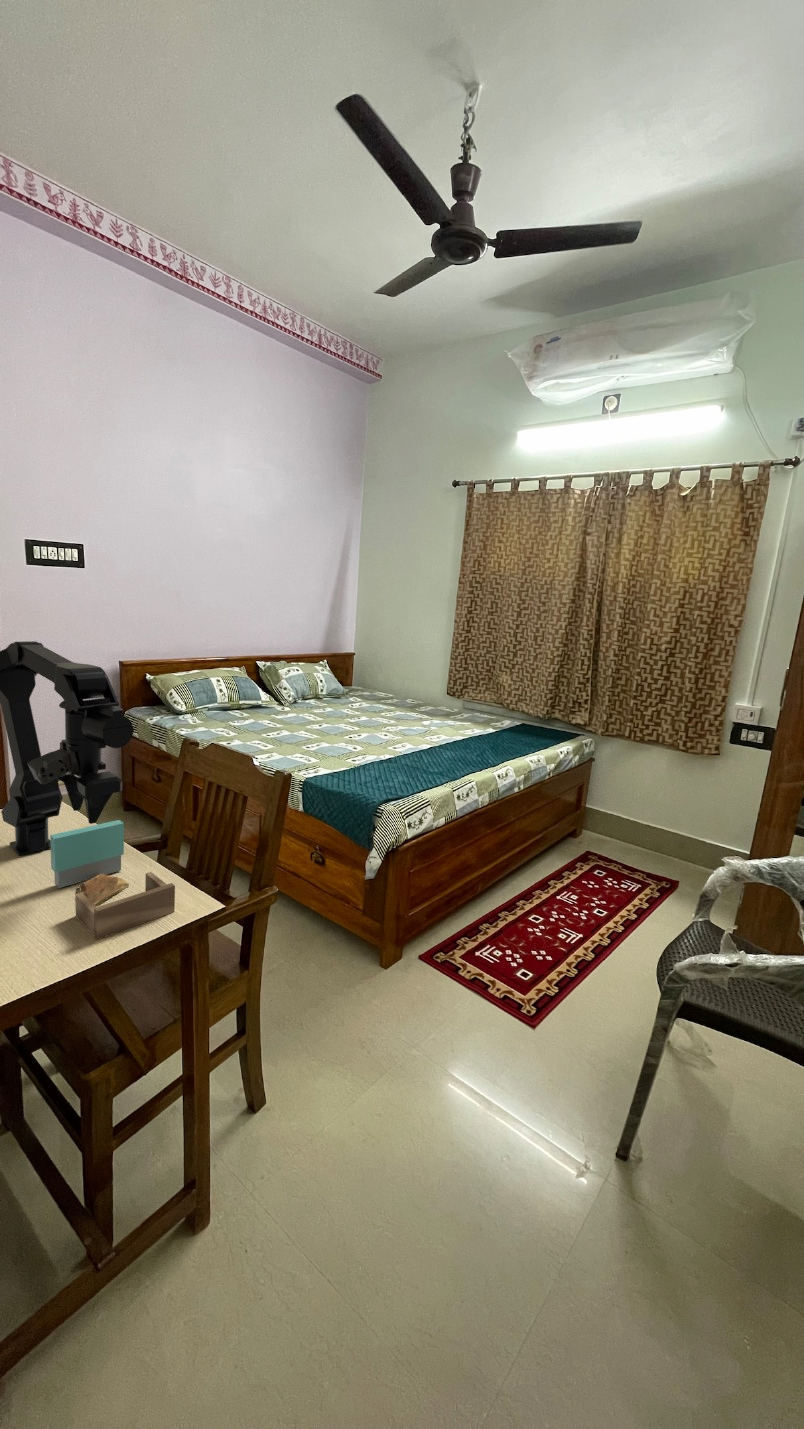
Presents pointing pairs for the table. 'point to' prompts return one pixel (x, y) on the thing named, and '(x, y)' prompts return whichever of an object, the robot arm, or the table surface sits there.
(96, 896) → the shard
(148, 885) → the box
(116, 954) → the table surface
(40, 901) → the table surface
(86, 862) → the block
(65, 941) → the table surface
